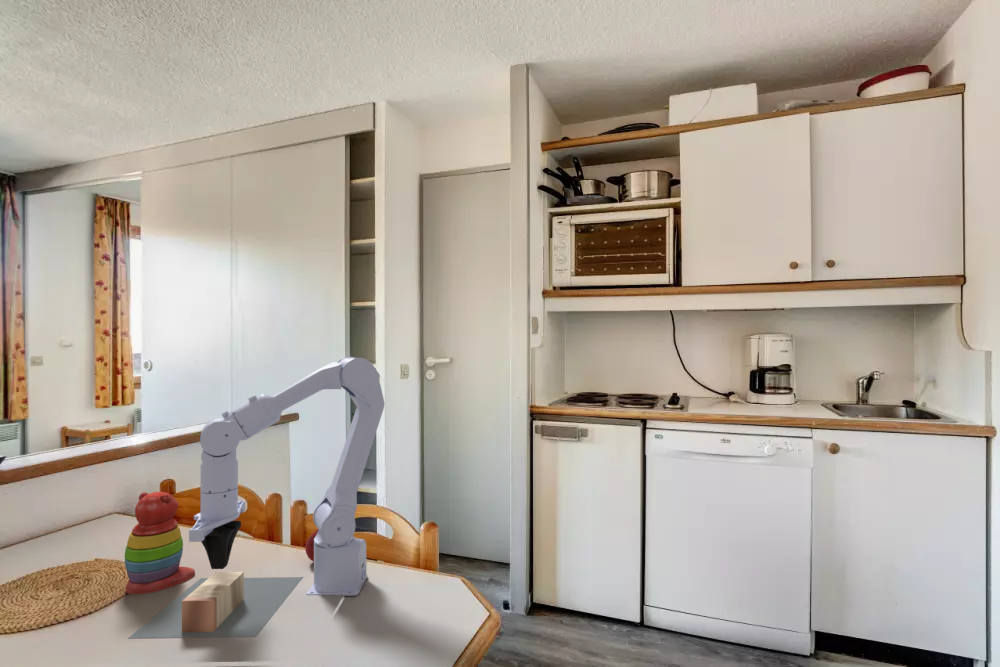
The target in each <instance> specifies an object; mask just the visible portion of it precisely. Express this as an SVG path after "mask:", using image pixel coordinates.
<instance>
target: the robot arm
mask: <svg viewBox="0 0 1000 667" xmlns="http://www.w3.org/2000/svg"><path fill="white" fill-rule="evenodd" d="M380 379H381V375H380V373H379V372H378V370H377V369H376V367H375V366H374V365H373V363H372V362H371V361H370V360H368V359H366V358H365V357H364V358H363V357H354V356H344V357H343V358H340V359H338V360H337V361H333V362H330V363H328V364H326V365H324V366H322V367H320V368H318V369H316V370H314V371H313V372H311V373H310V374H308V375H306V376H304V377H303V378H301V379H299V380H298V381H296V382H295V383H293V384H291V385H290V386H288V387H287V388H285V389H283V390H281V391H280V392H278V393H276V394H275V395H269V394H265V393H264V394H263V393H262V394H260V395H258V396H257V395H256V394H253V395H251V396H249V397H248V398H247V399H248V401H247V402H245V403H244V404H241V405H239V406H238V407H236V408H233V409H232V410H231V411H228V410H225V411H224V412H222V413H221V416H222V417H221V418H214V419H212V420H209V421H208V422H207V423H206V424H205V425H204V426H203V428H202V430H201V433H200V436H199V437H200V438H199V440H200V441H199V443H200V446H201V448H202V452H201V454H200V456H201V457H200V460H201V461H202V462H201V464H200V488H199V489H200V508H199V509H200V512H198V513H196V514H195V515H193V520H194V521H196V522H195V523H194V525H193V526H192V528H189V529H188V542H189V543H193V542H194V543H196V542H197V543H198V542H200V543H201V544H202V546H203V547H204V549H205V552H206V555H207V559H208V562H209V564H210V568H211V570H224V569H225V568H227V566H228V563H229V560H230V556H231V553H232V548H233V544H234V542H235V539H236V536H237V534H238V533H239V530H240V529H241V527H242V521H240V520H237V519H238V518H239V517H240V515H241V514H243V513H245V512H246V501H245V500H239V461H238V459H237V447H238V446H239V444H240V441H241V442H242V441H247V440H249V439H251V438H252V437H254V436H256V435H257V434H259V433H261V432H262V431H264V430H266V429H268V428H269V427H271V426H272V425H274V424H276V423H278V422H279V421H280V419H281V415H282V413H283V411H285V410H287V409H288V408H290V407H293V406H294V405H296V404H297V403H298V404H299V403H301V402H302V401H303V400H306V399H307V398H309V397H311V396H313V395H315V394H317V393H319V392H321V391H323V390H342V389H343V390H345V392H347V393H348V395H349V397H350V399H351V400H352V402H353V403H354V405H355V406H356V407H355V408H356V409H355V412H354V414H353V418H352V421H351V424H350V427H349V430H348V432H347V436H346V438H345V442H344V445H343V447H342V450H341V451H342V452H341V454H340V457H339V460H338V463H337V467H336V469H335V472H334V475H333V477H332V478H333V479H332V482H331V485H330V486H329V487H328V489H326V491H325V493H324V496H323V498H322V500H321V501H320V503H319V504H317V505H316V507H315V509H314V510H313V514H312V520H313V523H314V525H315V527H316V528H317V529H319V531H318V533H317V535H316V537H315V538H314V562H313V583H312V585H311V586H310V588H309V589H308V590H307V591H306V594H305V595H306V596H324V595H325V596H326V595H327V596H331V595H332V596H334V595H336V596H341V595H343V597H344V596H345V597H349V596H350V597H351V596H353V597H356V596H358V595H359V593H360V591H361V589H362V587H363V585H364V583H365V581H366V579H367V578H368V574H367V542H366V539H363V538H357V537H356V536H354V534H355V531H356V526H357V525H356V524H357V523H356V511H357V510H358V509H357V508H358V499H357V498H358V496H357V493H358V490H359V487H360V484H361V481H362V477H363V474H364V471H365V470H366V469H365V468H366V465H367V462H368V458H369V455H370V453H371V449H372V446H373V444H374V440H375V437H376V433H377V430H378V427H379V424H380V421H381V418H382V415H383V412H384V409H385V398H384V395H383V390H382V386H381V383H380V381H381V380H380Z"/></svg>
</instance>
